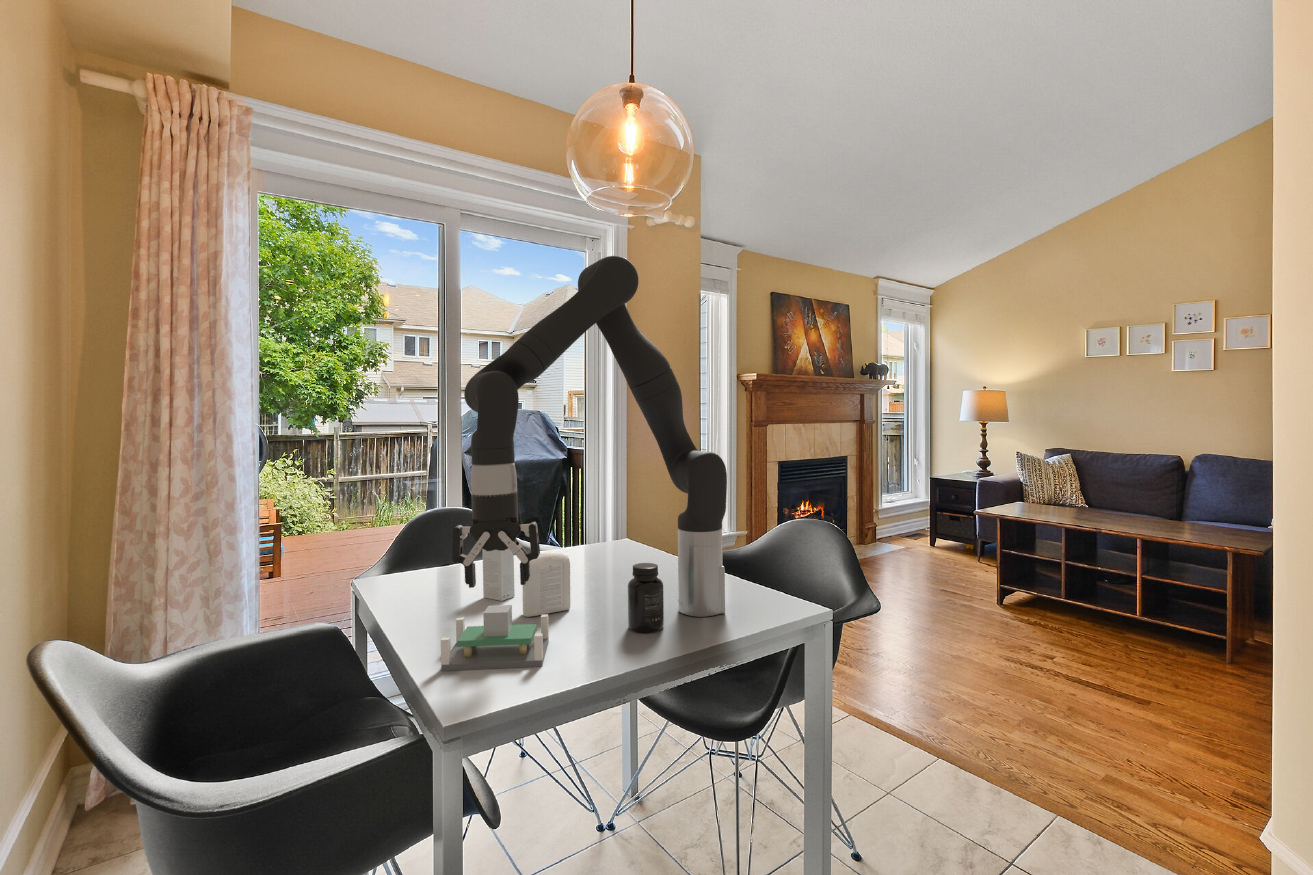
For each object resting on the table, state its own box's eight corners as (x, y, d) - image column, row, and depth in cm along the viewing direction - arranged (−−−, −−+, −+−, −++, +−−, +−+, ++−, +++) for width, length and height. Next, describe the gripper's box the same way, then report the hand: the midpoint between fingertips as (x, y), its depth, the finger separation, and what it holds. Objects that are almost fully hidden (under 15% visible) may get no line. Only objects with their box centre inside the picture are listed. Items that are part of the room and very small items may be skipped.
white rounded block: (565, 604, 131) (564, 548, 131) (573, 610, 128) (572, 551, 128) (519, 613, 126) (518, 554, 125) (527, 619, 122) (526, 558, 122)
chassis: (548, 641, 110) (548, 614, 109) (542, 666, 99) (541, 635, 98) (458, 645, 108) (457, 617, 108) (441, 670, 97) (440, 639, 97)
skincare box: (515, 596, 138) (514, 544, 138) (501, 601, 134) (500, 548, 134) (496, 593, 141) (495, 541, 141) (482, 597, 138) (481, 545, 137)
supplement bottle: (667, 622, 119) (666, 562, 119) (659, 635, 112) (658, 570, 112) (633, 620, 121) (633, 560, 120) (623, 632, 114) (622, 568, 114)
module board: (536, 629, 107) (536, 601, 107) (531, 644, 100) (530, 614, 100) (467, 631, 106) (467, 603, 106) (457, 646, 100) (456, 616, 99)
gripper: (539, 486, 107) (542, 577, 107) (456, 489, 106) (460, 581, 106) (534, 491, 99) (537, 589, 100) (445, 494, 98) (449, 593, 99)
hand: (497, 585), depth 103 cm, fingers open, 8 cm apart
